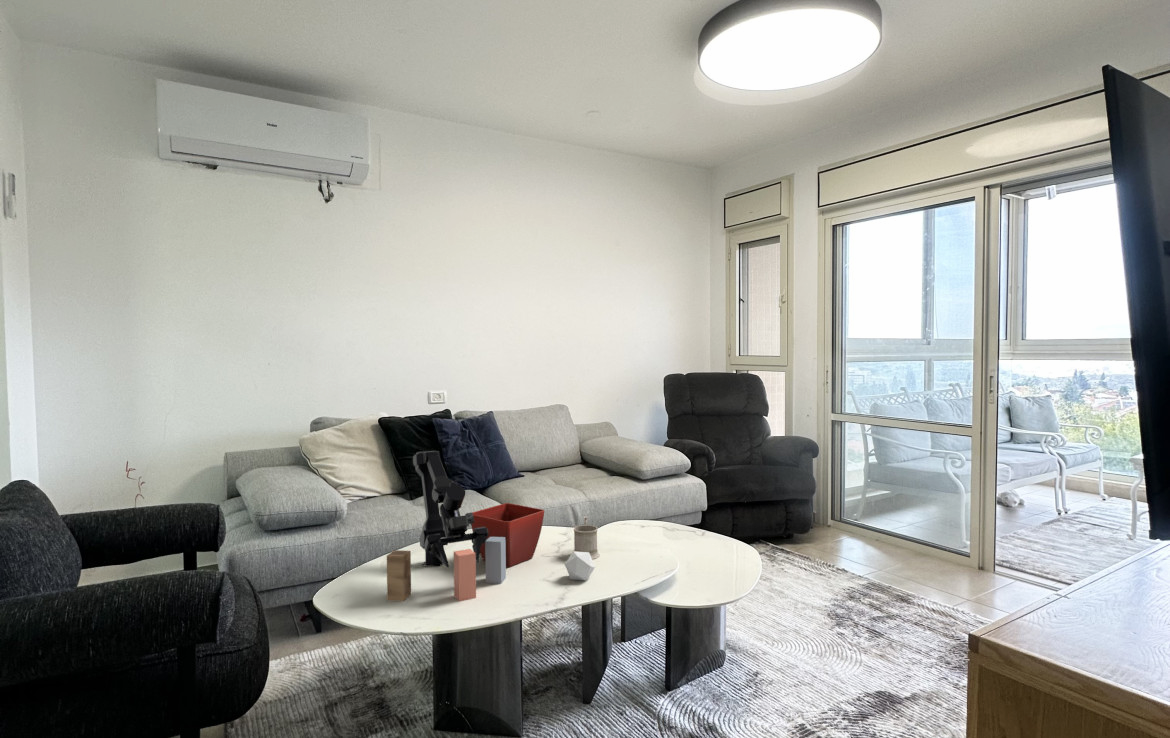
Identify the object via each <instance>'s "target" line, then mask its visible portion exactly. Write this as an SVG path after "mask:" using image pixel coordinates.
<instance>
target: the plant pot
mask: <svg viewBox="0 0 1170 738" xmlns="http://www.w3.org/2000/svg"><path fill="white" fill-rule="evenodd" d="M472 514H473V517H474V523H472V524H470V526H471V531H472V532H473V530H474V528H479V527H486V528H487V529H488V532H489V535H488V537H487V539H488V538H489V537H505V543H506V568H511V567H513V566H516V565H518V564H521V563H523V562H526V561H528V560H530V559H533V558H534V555H535V552H536V550H537V546H538V543H539V541H540V536H541V532H542V527H543V523H544V516H545V509H542V508H536V507H531V506H526V505H521V504H515V503H510V502H507V503H505V502H504V503H502V504H498V505H494V506H490V507H487V508H483V509H480V510H477V511H473V512H472ZM487 539H486V540H487ZM480 557H481V559H482V561H484V562H486V560H485V543H483V544H482V546H480Z"/></svg>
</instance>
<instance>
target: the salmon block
mask: <svg viewBox="0 0 1170 738" xmlns="http://www.w3.org/2000/svg"><path fill="white" fill-rule="evenodd" d="M476 566H477V561H476V553H475V552H474V551H473V549H471V548H466V549H461V550H455V551H453V595H454V597H455V598H456V599H457V601H458V602H462V601H467V600H472V599H476V598H477V575H476V574H477V567H476Z"/></svg>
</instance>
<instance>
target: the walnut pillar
mask: <svg viewBox="0 0 1170 738" xmlns="http://www.w3.org/2000/svg"><path fill="white" fill-rule="evenodd" d="M411 554H412V553H411V550H396V549H395V550H393V551H391V552H389V553H388V554H387V555H386V601H389V602H391V601H395V602H405V601H406V600H407V599H408V598H409V597H411V595H412V569H411V568H412V564H411V562H412V560H411V558H412V555H411Z"/></svg>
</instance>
